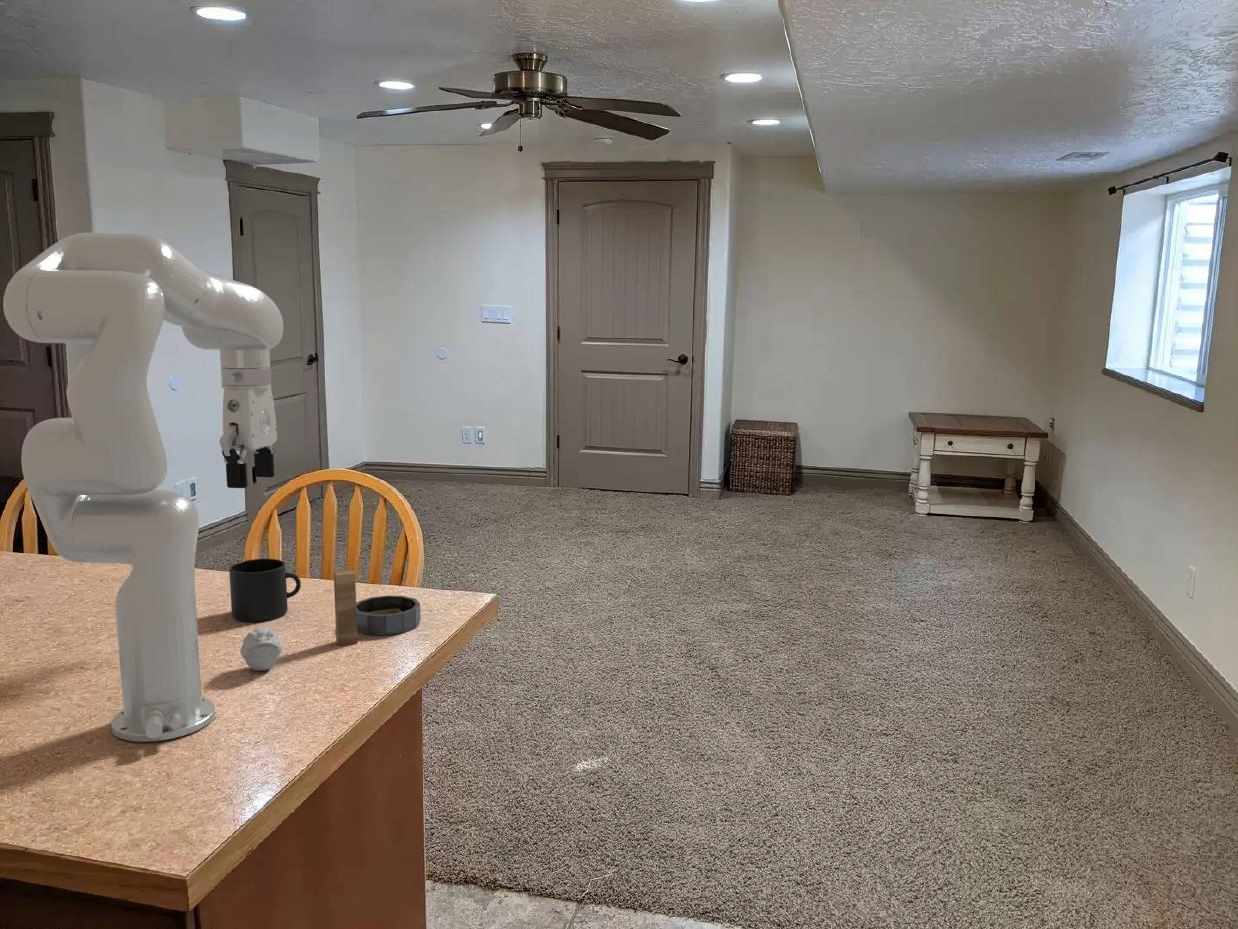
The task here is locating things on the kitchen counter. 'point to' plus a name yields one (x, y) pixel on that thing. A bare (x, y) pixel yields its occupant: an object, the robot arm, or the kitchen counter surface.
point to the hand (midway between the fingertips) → (251, 482)
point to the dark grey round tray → (387, 615)
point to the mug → (260, 589)
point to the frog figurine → (261, 648)
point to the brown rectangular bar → (345, 607)
